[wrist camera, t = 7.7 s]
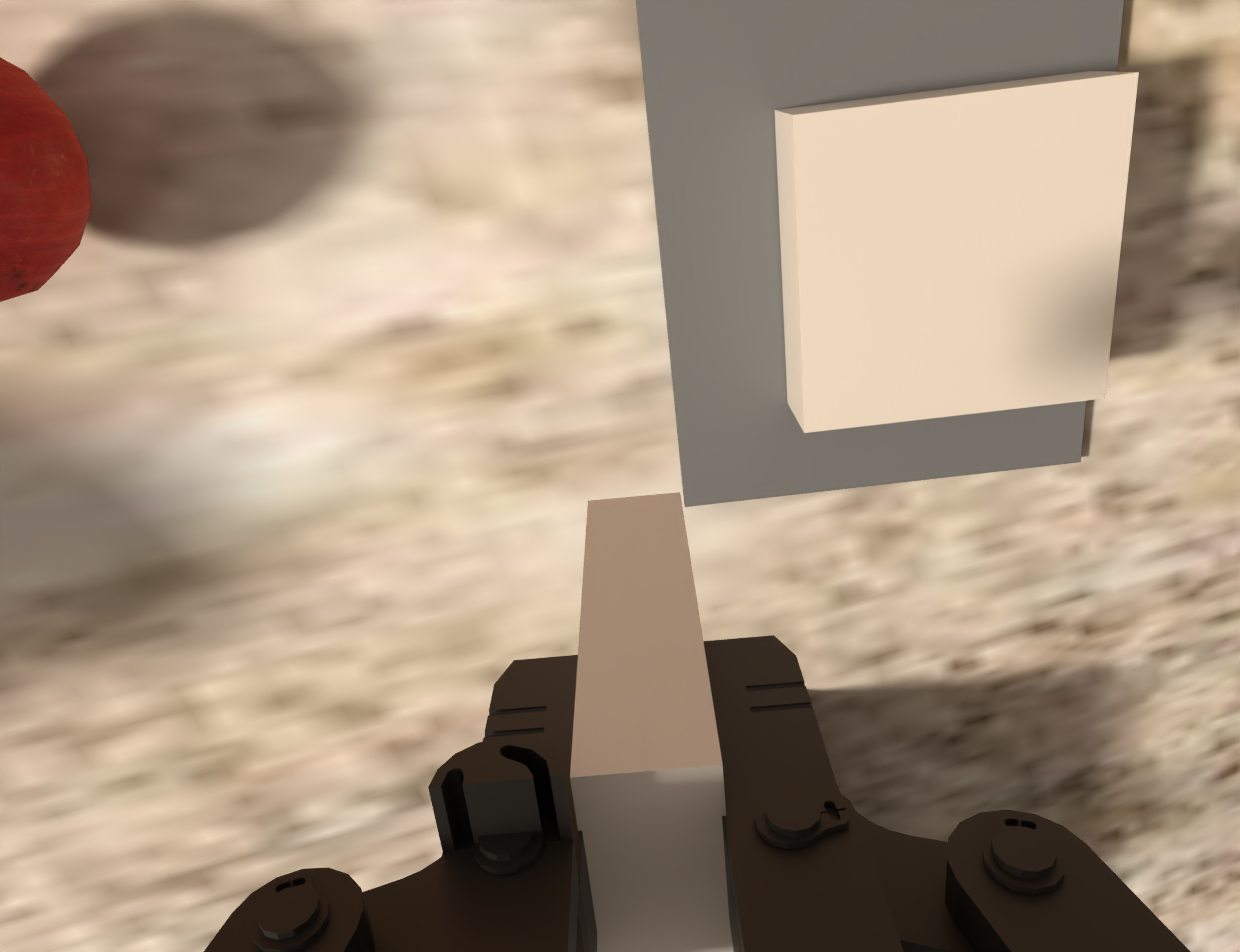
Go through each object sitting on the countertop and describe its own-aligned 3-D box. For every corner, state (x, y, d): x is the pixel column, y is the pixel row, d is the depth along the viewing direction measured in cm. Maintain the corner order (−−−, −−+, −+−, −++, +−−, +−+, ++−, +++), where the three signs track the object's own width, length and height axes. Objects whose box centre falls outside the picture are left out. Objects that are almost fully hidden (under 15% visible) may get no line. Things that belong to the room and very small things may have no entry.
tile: (774, 109, 24) (1088, 71, 24) (787, 402, 27) (1063, 370, 27) (792, 114, 22) (1138, 72, 22) (804, 432, 25) (1105, 398, 25)
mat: (1123, -67, 23) (1130, -68, 23) (1075, 458, 29) (1080, 462, 28) (635, -5, 23) (635, -5, 23) (684, 502, 29) (685, 506, 29)
